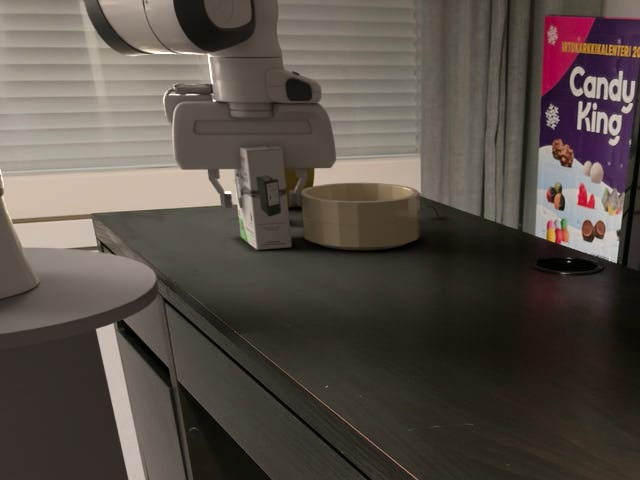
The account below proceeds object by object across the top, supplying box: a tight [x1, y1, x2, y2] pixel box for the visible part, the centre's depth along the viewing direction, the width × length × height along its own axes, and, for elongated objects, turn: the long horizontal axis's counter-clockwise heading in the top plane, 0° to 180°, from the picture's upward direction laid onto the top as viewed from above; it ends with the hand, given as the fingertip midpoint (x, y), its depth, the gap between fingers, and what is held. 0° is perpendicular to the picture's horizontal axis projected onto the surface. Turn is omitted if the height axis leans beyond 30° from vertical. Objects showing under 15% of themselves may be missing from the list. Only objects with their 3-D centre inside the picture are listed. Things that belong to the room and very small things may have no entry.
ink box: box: [232, 146, 293, 251], centre depth 120 cm, size 9×5×12 cm, turn 27°
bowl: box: [300, 182, 421, 251], centre depth 124 cm, size 16×16×6 cm
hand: (261, 206), depth 121 cm, fingers open, 7 cm apart
